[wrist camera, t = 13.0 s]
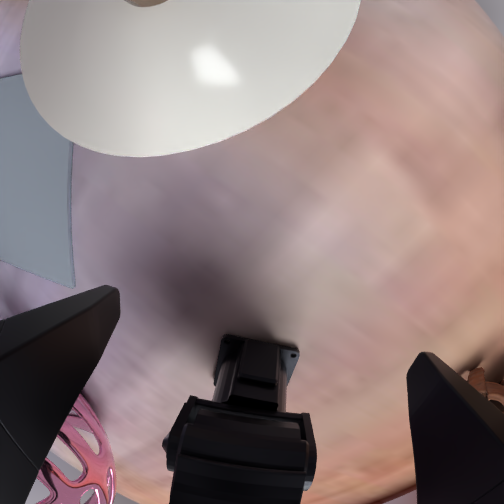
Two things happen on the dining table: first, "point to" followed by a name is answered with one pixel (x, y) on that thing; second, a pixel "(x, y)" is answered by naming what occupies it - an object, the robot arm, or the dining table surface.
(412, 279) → the dining table surface
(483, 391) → the pottery mug
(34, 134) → the rubber mat
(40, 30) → the ceramic lid
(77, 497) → the spiral basket
